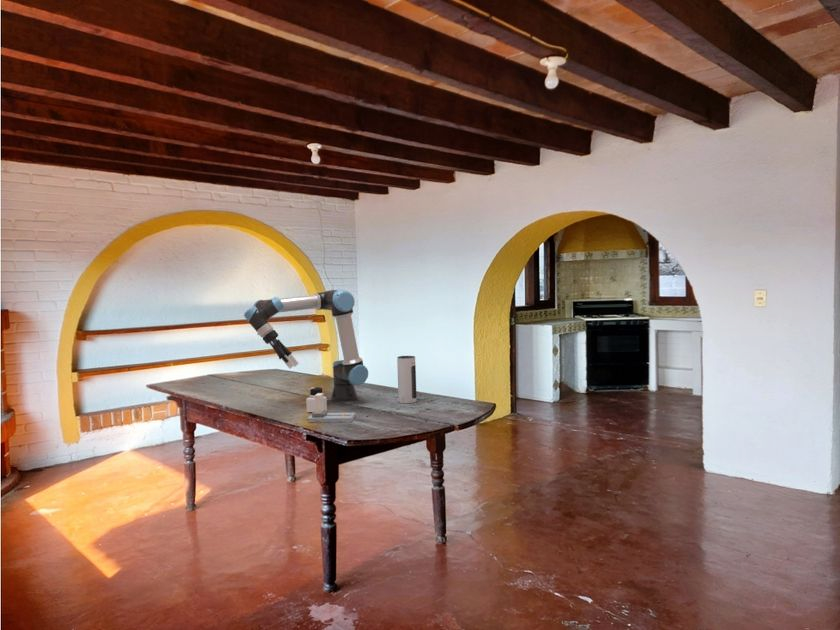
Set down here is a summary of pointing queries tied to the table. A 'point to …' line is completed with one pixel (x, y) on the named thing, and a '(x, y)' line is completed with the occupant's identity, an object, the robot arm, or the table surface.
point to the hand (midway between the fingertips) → (294, 366)
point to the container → (311, 399)
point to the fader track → (334, 417)
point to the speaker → (406, 379)
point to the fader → (319, 406)
